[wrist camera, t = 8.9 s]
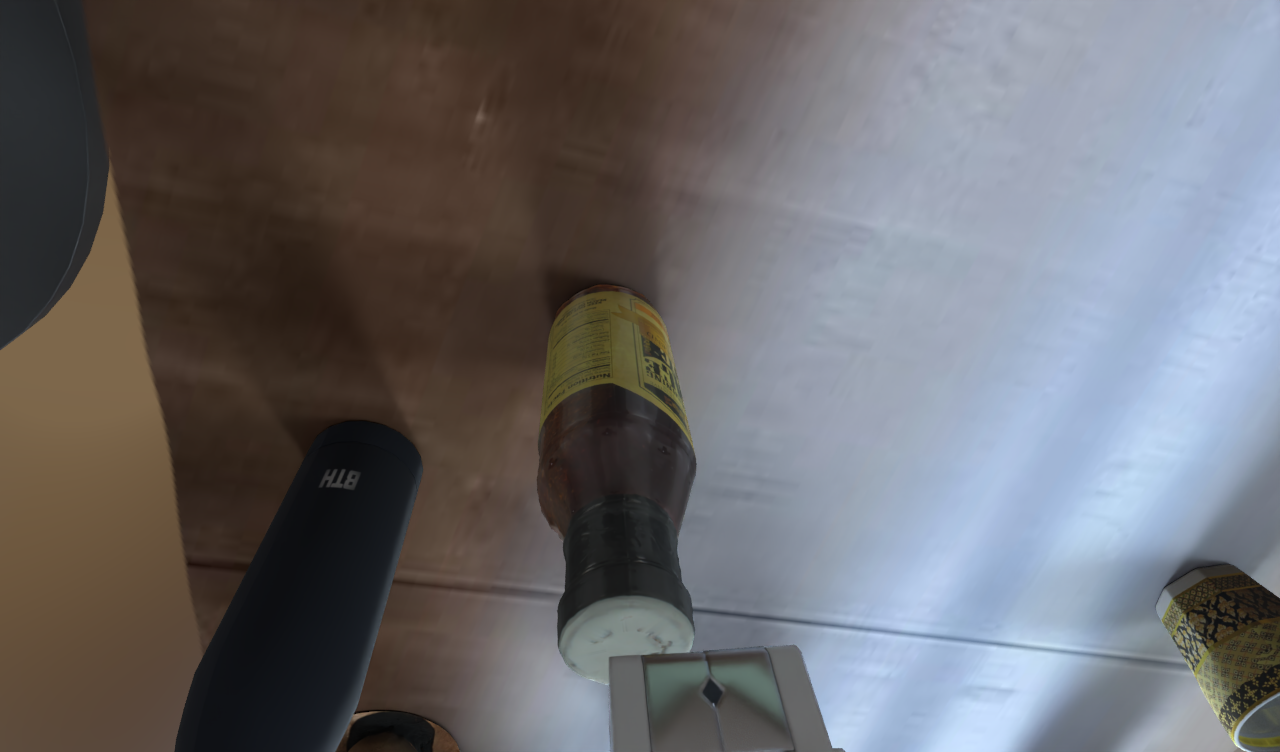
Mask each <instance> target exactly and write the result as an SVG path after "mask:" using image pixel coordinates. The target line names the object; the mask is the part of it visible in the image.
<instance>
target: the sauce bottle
mask: <svg viewBox="0 0 1280 752" xmlns="http://www.w3.org/2000/svg"><path fill="white" fill-rule="evenodd" d="M538 450H539V456H540V459H539V469H538V476H537V491H538V495H539V502H540V506H541V511H542V514H543V515H544V517H545V518H546V520H547V521H548V523H549V526H550V527H551V529H553V530H554V531H555V532H556V533H557V534H558V535H559V538H560V539H561V540H562V541H563V552H564V557H565V561H566V575H565V592H564V594H563V596H562V598H561V599H560V602H559V605H558V610H557V611H558V623H557V630H558V648H559V651H560V653H561V655H562V657H563V659H564V661H565V663H566V665H567V666H568V667H569V668H570V669H571V670H572V671H574V672H575V673H576V674H578V675H580V676H581V677H583V678H586V679H590V680H594V681H596V682H599V683H602V684H606V685H609V657H612V656H626V655H651V654H669V653H688V652H689V651H690V649H691V648H692V645H693V640H694V635H695V627H694V621H693V609H692V603H691V597H690V594H689V592H688V590H687V589H686V588H685V586H684V584H683V583H682V579H681V569H680V566H679V558H678V555H677V545H678V536H679V532H680V529H681V525H682V522H683V518H684V515H685V511H686V507H687V504H688V500H689V496H690V493H691V489H692V486H693V482H694V479H695V476H696V465H697V464H696V457H695V452H694V448H693V443H692V438H691V434H690V430H689V426H688V421H687V417H686V412H685V407H684V403H683V398H682V394H681V390H680V386H679V381H678V376H677V373H676V368H675V364H674V360H673V355H672V351H671V346H670V342H669V337H668V333H667V329H666V326H665V324H664V322H663V320H662V319H661V317H660V315H659V314H658V313H657V311H656V310H655V308H654V307H653V306H652V304H651V303H650V302H649V300H648V299H647V298H646V297H645V296H644V295H643V294H640V293H638V292H636V291H634V290H631V289H629V288H624V287H618V286H614V285H608V284H605V285H595V286H593V287H590V288H588V289H586V290H583V291H581V292H579V293H577V294H575V295H574V296H572V297H571V298H570V300H568V301H567V302H565V303H563V304H562V306H561V307H560V308H559V309H558V311H557V312H556V318H555V321H554V323H553V325H552V328H551V330H550V334H549V339H548V348H547V358H546V368H545V378H544V388H543V398H542V408H541V418H540V429H539V439H538Z"/></svg>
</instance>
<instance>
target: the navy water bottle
mask: <svg viewBox="0 0 1280 752" xmlns="http://www.w3.org/2000/svg"><path fill="white" fill-rule="evenodd" d="M422 473H423V466H422V461H421V456H420V455H419V453H418V451H417V450H416V448H415V447H414V445H413V444H412V443H411V442H410V441H409V440H408V439H407V438H405V437H404V436H403V435H402V434H401V433H399V432H397V431H395V430H393V429H391V428H389V427H387V426H385V425H381V424H377V423H372V422H367V421H349V422H344V423H341V424H337V425H334V426H331V427H329V428H328V429H326V430H325V431H323V432H322V433H320V434H319V435H318V436H317V437H316V439H315V441H314V442H313V444H312V445H311V447H310V449H309V451H308V453H307V454H306V456H305V458H304V460H303V462H302V464H301V466H300V468H299V470H298V472H297V474H296V476H295V478H294V480H293V482H292V484H291V486H290V488H289V490H288V492H287V494H286V496H285V498H284V500H283V501H282V503H281V505H280V507H279V509H278V511H277V513H276V515H275V517H274V519H273V521H272V523H271V525H270V527H269V529H268V531H267V533H266V535H265V537H264V539H263V541H262V543H261V545H260V546H259V548H258V550H257V552H256V554H255V556H254V558H253V560H252V562H251V564H250V566H249V568H248V570H247V572H246V574H245V576H244V578H243V580H242V582H241V584H240V586H239V588H238V590H237V591H236V593H235V595H234V597H233V599H232V601H231V603H230V605H229V607H228V609H227V611H226V613H225V615H224V617H223V619H222V621H221V623H220V625H219V627H218V629H217V631H216V633H215V635H214V636H213V638H212V640H211V642H210V644H209V646H208V648H207V650H206V652H205V654H204V656H203V658H202V660H201V662H200V664H199V666H198V668H197V670H196V672H195V674H194V678H193V681H192V684H191V687H190V690H189V693H188V697H187V700H186V703H185V707H184V711H183V715H182V719H181V722H180V727H179V730H178V734H177V739H176V745H175V752H335V751H336V749H337V747H338V746H339V744H340V742H341V740H342V738H343V736H344V734H345V732H346V730H347V727H348V725H349V723H350V721H351V719H352V717H353V715H354V712H355V710H356V708H357V706H358V702H359V698H360V695H361V691H362V688H363V684H364V681H365V677H366V673H367V670H368V666H369V663H370V659H371V656H372V652H373V649H374V645H375V641H376V638H377V634H378V631H379V627H380V624H381V620H382V616H383V613H384V609H385V606H386V602H387V599H388V595H389V592H390V588H391V584H392V581H393V577H394V574H395V570H396V567H397V563H398V559H399V556H400V552H401V549H402V545H403V542H404V538H405V535H406V531H407V527H408V524H409V520H410V517H411V513H412V510H413V506H414V502H415V499H416V495H417V492H418V488H419V485H420V481H421V477H422Z"/></svg>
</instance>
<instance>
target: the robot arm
mask: <svg viewBox="0 0 1280 752" xmlns="http://www.w3.org/2000/svg"><path fill="white" fill-rule="evenodd" d="M609 732H610V752H845V751H844V750H843V749H842V748H832V746H831V743H830V740H829V736H828V733H827V730H826V727H825V724H824V721H823V718H822V715H821V712H820V708H819V705H818V702H817V699H816V696H815V693H814V690H813V687H812V684H811V680H810V677H809V674H808V671H807V668H806V665H805V662H804V659H803V656H802V653H801V651H800V650H799V648H798V647H797V646H796V645H783V646H770V647H763V646H758V647H746V648H734V649H721V650H709V651H703V652H688V653H669V654H651V655H626V656H612V657H609Z"/></svg>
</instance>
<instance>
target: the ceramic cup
mask: <svg viewBox="0 0 1280 752" xmlns="http://www.w3.org/2000/svg"><path fill="white" fill-rule="evenodd" d="M1155 608H1156V612H1157V614H1158V615H1159V617H1160V619H1161V620H1162V622H1163V624H1164V626H1165V627H1166V629H1167V630H1168V632H1169V634H1170V635H1171V637H1172V639H1173V640H1174V642H1175V644H1176V645H1177V647H1178V649H1179V651H1180V652H1181V654H1182V656H1183V657H1184V659H1185V661H1186V662H1187V664H1188V666H1189V667H1190V669H1191V670H1192V672H1193V674H1194V675H1195V677H1196V679H1197V681H1198V683H1199V685H1200V687H1201V689H1202V691H1203V693H1204V695H1205V697H1206V699H1207V700H1208V702H1209V704H1210V705H1211V707H1212V709H1213V711H1214V712H1215V714H1216V716H1217V717H1218V719H1219V721H1220V722H1221V724H1222V725H1223V727H1224V728H1225V730H1226V731H1227V733H1228V734H1229V736H1230V737H1231V739H1232V740H1233V742H1234V743H1235V745H1236V746H1237V747H1239V748H1240V749H1242V750H1244V751H1247V752H1280V598H1279V597H1277V596H1276V595H1274V594H1273V593H1272V592H1270V591H1269V590H1267V589H1266V588H1265V587H1263V586H1262V585H1260V584H1259V583H1258V582H1256V581H1255V580H1254V579H1252V578H1251V577H1250V576H1248V575H1247V574H1245V573H1244V572H1242V571H1241V570H1240V569H1238V568H1237V567H1235V566H1233V565H1230V564H1225V565H1218V566H1211V567H1204V568H1197V569H1194V570H1193V571H1191V572H1189V573H1188V574H1186V575H1184V576H1183V577H1181V578H1179V579H1178V580H1176V581H1175V582H1173V583H1171V584H1170V585H1168V586H1167V587H1165V588H1164V589H1163V591H1162V594H1161V596H1160V598H1159V600H1158V602H1157V604H1156V606H1155Z"/></svg>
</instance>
